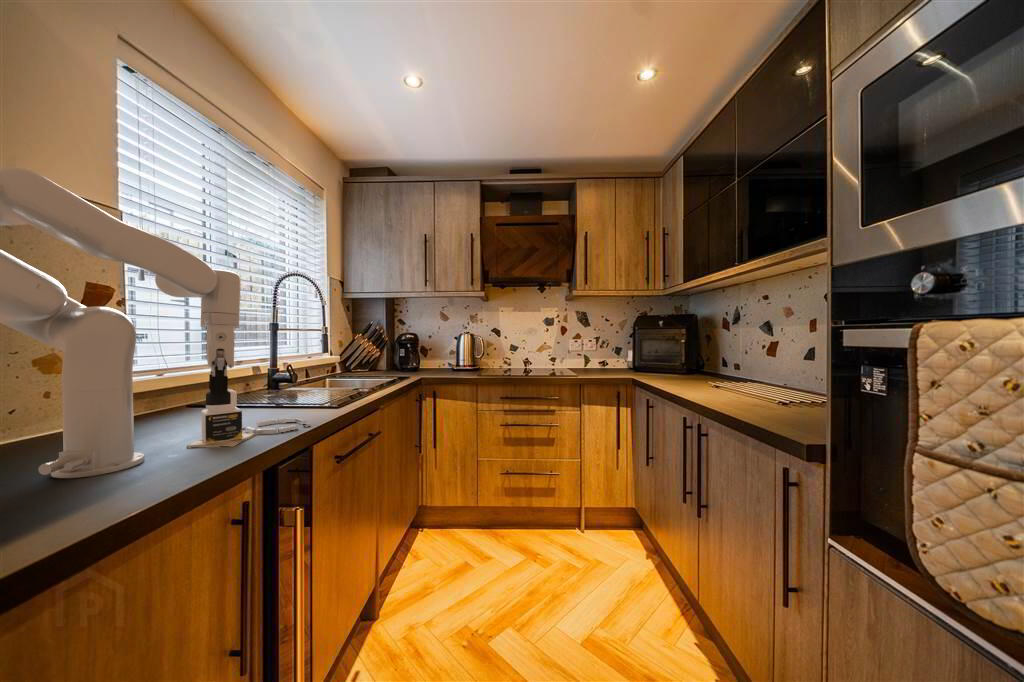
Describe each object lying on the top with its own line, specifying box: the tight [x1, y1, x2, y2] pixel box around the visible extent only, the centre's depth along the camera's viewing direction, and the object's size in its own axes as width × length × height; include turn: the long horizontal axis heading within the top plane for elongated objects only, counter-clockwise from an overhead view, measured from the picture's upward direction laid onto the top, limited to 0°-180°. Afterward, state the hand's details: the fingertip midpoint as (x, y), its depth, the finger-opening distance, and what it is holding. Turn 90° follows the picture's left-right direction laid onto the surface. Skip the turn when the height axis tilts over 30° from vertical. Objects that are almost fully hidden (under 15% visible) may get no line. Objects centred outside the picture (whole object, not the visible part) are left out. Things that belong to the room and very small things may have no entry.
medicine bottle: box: [200, 388, 243, 444], centre depth 95 cm, size 7×7×12 cm
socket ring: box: [242, 417, 311, 436], centre depth 109 cm, size 14×17×1 cm
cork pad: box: [186, 432, 256, 449], centre depth 96 cm, size 10×10×1 cm
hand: (217, 391), depth 94 cm, fingers open, 9 cm apart
